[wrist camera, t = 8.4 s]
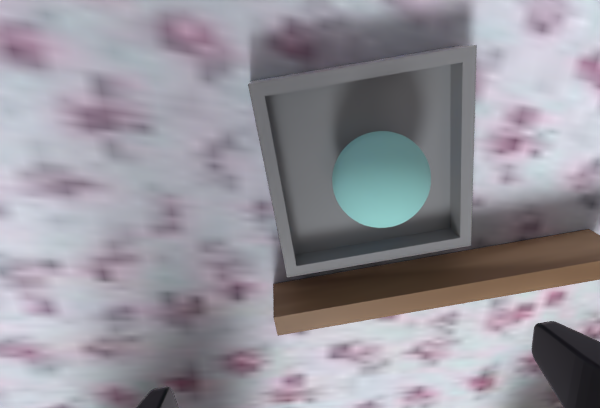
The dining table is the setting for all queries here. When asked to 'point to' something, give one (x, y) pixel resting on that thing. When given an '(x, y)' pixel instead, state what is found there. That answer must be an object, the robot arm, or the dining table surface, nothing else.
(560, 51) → the dining table surface
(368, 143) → the ball
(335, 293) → the rail
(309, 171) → the tray
